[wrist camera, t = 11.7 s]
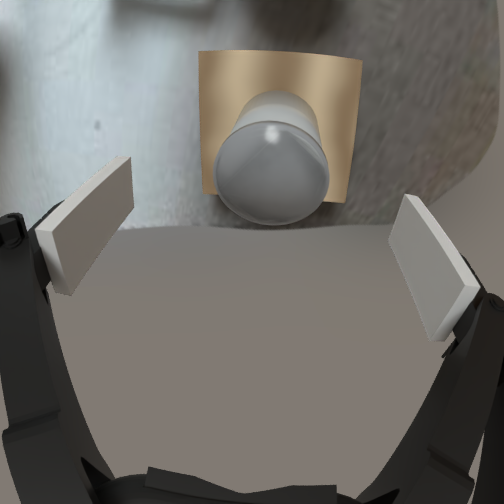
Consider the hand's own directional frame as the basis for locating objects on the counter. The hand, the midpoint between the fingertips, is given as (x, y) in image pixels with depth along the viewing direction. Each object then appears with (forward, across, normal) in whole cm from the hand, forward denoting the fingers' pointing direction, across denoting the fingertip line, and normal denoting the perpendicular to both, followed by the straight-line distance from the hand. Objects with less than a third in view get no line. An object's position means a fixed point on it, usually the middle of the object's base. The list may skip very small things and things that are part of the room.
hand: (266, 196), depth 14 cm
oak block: (+20, +1, 0) cm, 20 cm away
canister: (+14, 0, 0) cm, 14 cm away
